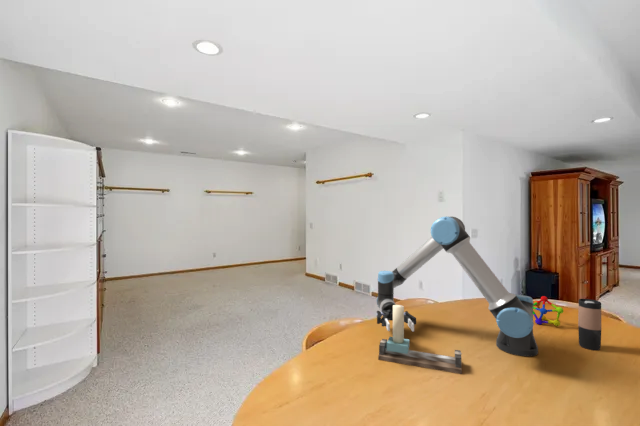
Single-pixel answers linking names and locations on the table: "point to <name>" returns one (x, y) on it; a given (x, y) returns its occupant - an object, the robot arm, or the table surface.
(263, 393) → the table surface
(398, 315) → the carriage
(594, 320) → the travel mug
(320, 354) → the table surface
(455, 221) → the robot arm
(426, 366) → the rail board
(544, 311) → the educational toy
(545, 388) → the table surface
